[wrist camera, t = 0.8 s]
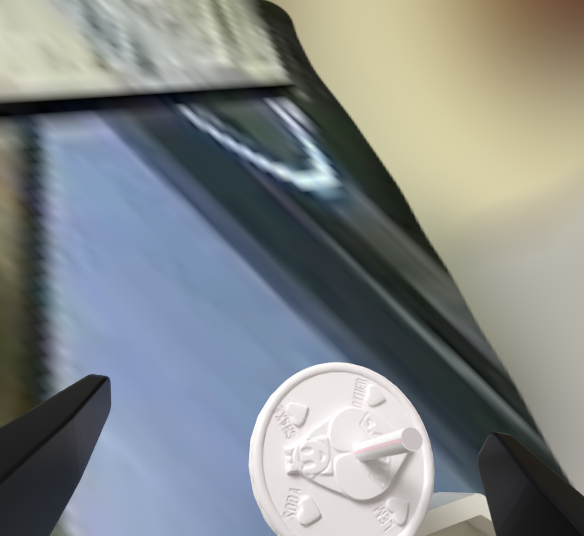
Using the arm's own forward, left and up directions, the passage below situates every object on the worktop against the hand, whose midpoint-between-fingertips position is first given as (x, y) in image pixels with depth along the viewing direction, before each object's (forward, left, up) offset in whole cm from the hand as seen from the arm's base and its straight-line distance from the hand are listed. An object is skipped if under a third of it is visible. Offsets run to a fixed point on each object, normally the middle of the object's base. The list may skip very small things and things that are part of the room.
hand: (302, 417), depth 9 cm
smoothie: (-1, -2, -14) cm, 15 cm away
